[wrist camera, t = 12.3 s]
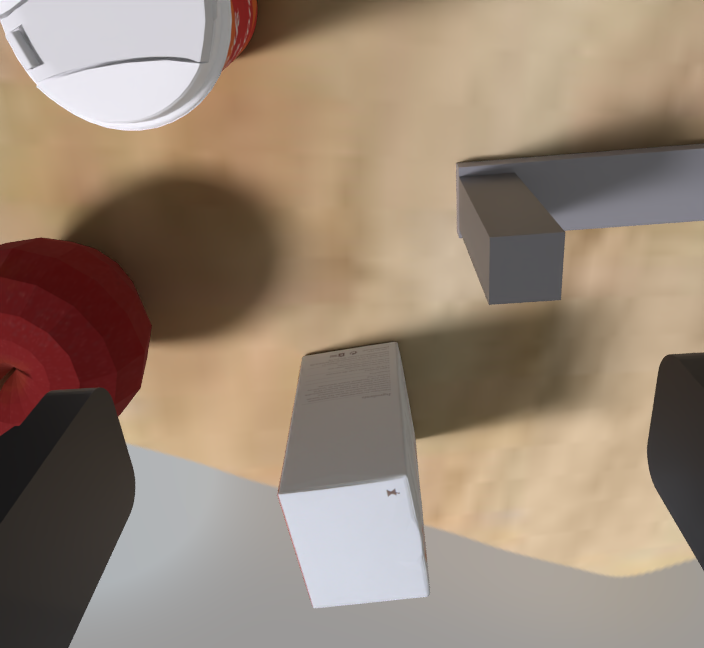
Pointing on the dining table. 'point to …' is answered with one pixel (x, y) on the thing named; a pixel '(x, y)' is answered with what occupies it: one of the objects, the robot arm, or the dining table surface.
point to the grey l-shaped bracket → (565, 209)
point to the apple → (66, 326)
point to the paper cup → (127, 53)
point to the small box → (354, 480)
